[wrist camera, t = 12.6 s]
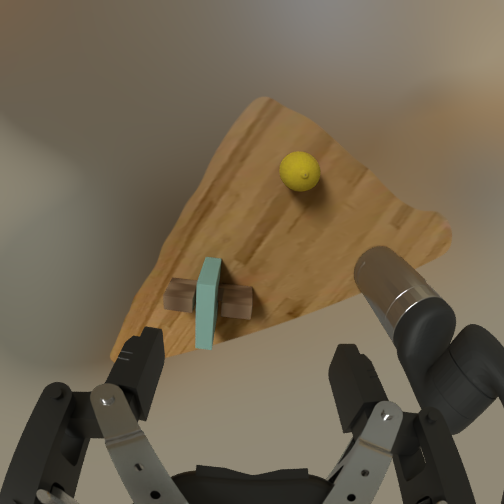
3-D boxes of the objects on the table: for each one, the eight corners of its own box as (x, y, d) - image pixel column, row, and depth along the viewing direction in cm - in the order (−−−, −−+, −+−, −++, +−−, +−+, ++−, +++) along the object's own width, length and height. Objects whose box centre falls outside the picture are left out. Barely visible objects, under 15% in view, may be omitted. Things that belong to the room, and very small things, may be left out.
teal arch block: (205, 256, 46) (196, 283, 38) (221, 258, 46) (215, 285, 38) (203, 315, 51) (195, 347, 42) (216, 317, 51) (211, 349, 42)
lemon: (298, 193, 42) (308, 205, 35) (269, 171, 41) (273, 178, 33) (320, 165, 40) (335, 172, 33) (292, 143, 39) (301, 143, 32)
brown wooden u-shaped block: (252, 286, 48) (252, 306, 43) (250, 299, 49) (250, 319, 44) (172, 277, 48) (163, 295, 42) (172, 290, 48) (164, 308, 43)
